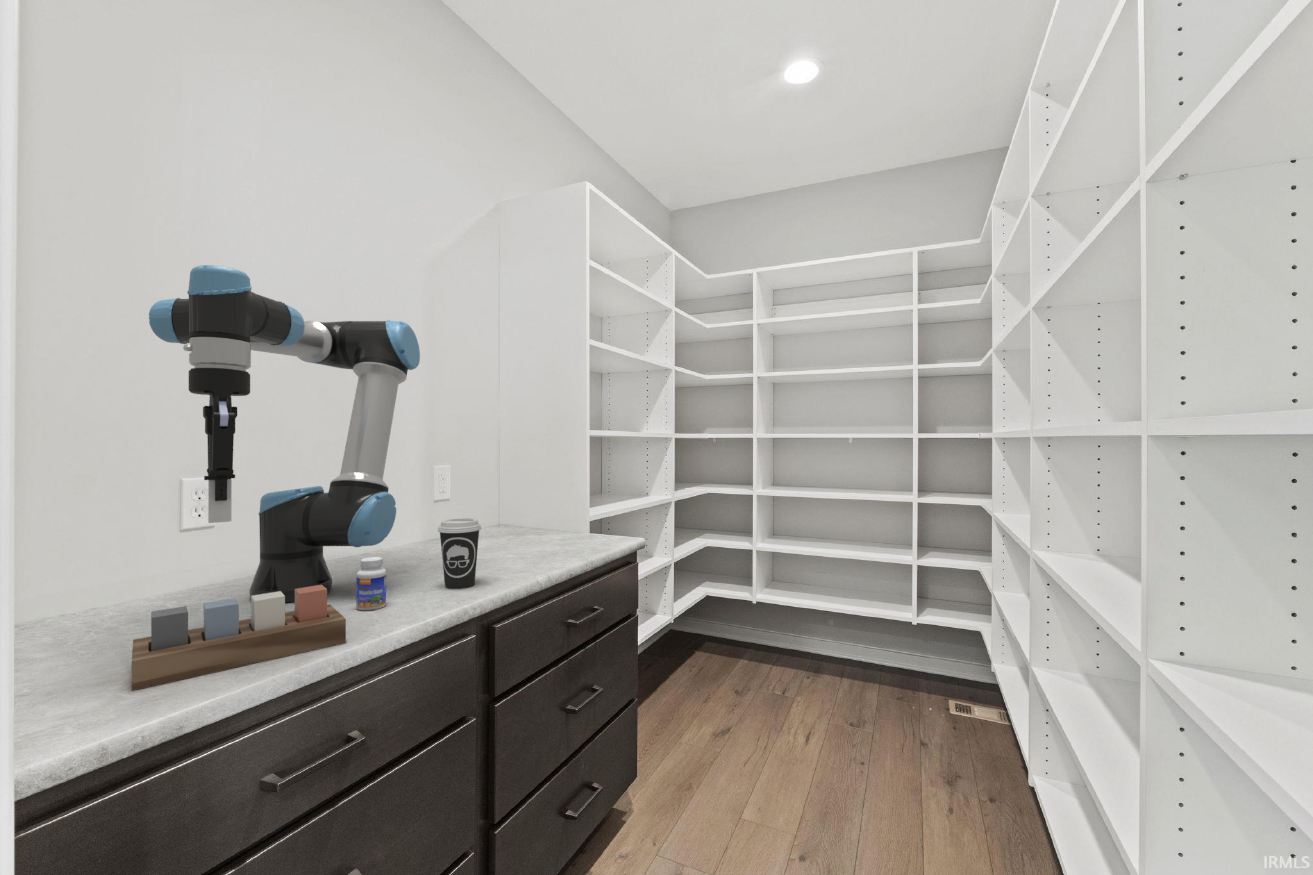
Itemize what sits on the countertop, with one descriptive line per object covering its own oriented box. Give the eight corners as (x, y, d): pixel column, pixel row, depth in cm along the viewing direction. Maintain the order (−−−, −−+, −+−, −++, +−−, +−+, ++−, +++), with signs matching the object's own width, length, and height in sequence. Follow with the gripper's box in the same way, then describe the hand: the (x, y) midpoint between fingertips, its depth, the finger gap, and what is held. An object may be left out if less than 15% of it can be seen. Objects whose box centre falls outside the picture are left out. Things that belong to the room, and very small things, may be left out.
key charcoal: (151, 645, 82) (151, 611, 82) (186, 638, 85) (186, 605, 85) (151, 652, 79) (151, 617, 79) (188, 645, 82) (188, 611, 82)
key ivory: (251, 626, 90) (251, 595, 90) (280, 621, 93) (280, 591, 93) (254, 632, 87) (254, 601, 87) (284, 626, 90) (284, 596, 90)
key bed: (133, 666, 83) (133, 639, 83) (329, 626, 101) (329, 604, 101) (131, 690, 75) (131, 661, 75) (345, 642, 93) (345, 618, 93)
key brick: (294, 618, 94) (294, 588, 94) (321, 613, 97) (321, 584, 97) (299, 624, 91) (299, 593, 91) (327, 618, 94) (327, 589, 94)
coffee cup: (490, 583, 130) (490, 519, 130) (455, 593, 122) (455, 524, 122) (463, 578, 136) (463, 516, 136) (428, 587, 128) (428, 521, 128)
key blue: (203, 635, 86) (203, 603, 86) (235, 629, 89) (235, 598, 89) (205, 642, 83) (205, 609, 83) (238, 635, 86) (238, 603, 86)
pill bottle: (355, 612, 109) (355, 563, 109) (356, 605, 114) (356, 557, 114) (386, 608, 111) (386, 560, 111) (386, 601, 116) (385, 555, 116)
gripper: (186, 371, 88) (186, 519, 88) (191, 362, 79) (190, 529, 79) (244, 374, 93) (244, 515, 93) (255, 367, 84) (255, 523, 84)
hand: (219, 521), depth 86 cm, fingers closed
